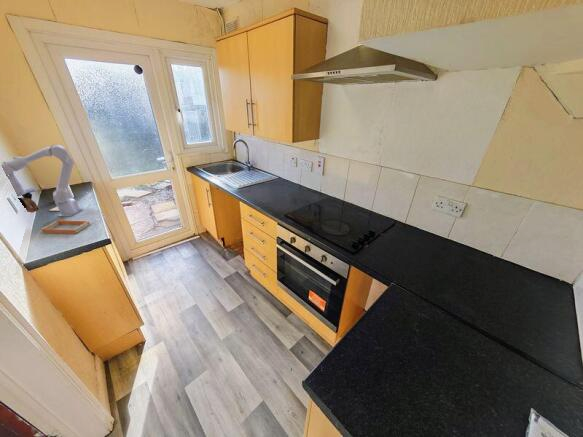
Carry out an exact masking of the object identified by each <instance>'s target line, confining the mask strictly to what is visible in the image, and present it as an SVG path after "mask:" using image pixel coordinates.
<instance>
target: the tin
mask: <svg viewBox="0 0 583 437" xmlns="http://www.w3.org/2000/svg"><path fill="white" fill-rule="evenodd" d="M20 197H21V198H22V201H23V203H24V204H25V206H26V210H27V212H26V213H35V212H38V211H39V206H38V205H37V204H36V202H35V201H34V200H33V199H32V200H31V199H28V198H24V197H23V196H20Z"/></svg>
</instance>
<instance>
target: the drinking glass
mask: <svg viewBox="0 0 583 437" xmlns="http://www.w3.org/2000/svg"><path fill="white" fill-rule="evenodd" d="M67 198H72V199H74V198H75V195H74V193H73V191H72V189H71V187H70V183H69V184H68V188H67Z"/></svg>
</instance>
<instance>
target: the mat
mask: <svg viewBox="0 0 583 437" xmlns="http://www.w3.org/2000/svg"><path fill="white" fill-rule="evenodd" d="M48 211H49V212H60V210H59V209H58V207H57V206H55V207H52V208H51V209H49V210H48Z"/></svg>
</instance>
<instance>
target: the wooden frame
mask: <svg viewBox="0 0 583 437" xmlns="http://www.w3.org/2000/svg"><path fill="white" fill-rule="evenodd" d="M59 225H71V226H72V225H74V226H75V225H76V226H77V227H75V228H74V229H71V228H70V229H68V228H67V229H66V228H65V229H64V228H55V227H57V226H59ZM90 225H91V224H90V222H89V220H60V219H59V220H55V221H54V222H52V223H50V224H48V225H46V226H44V227H42V228H41V229H40V230H41V232H42V233H43V234H73V235H74V234H75V235H76V234H78V233H79V232H81V231H82V230H84V229H85V228H88V226H90Z"/></svg>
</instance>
